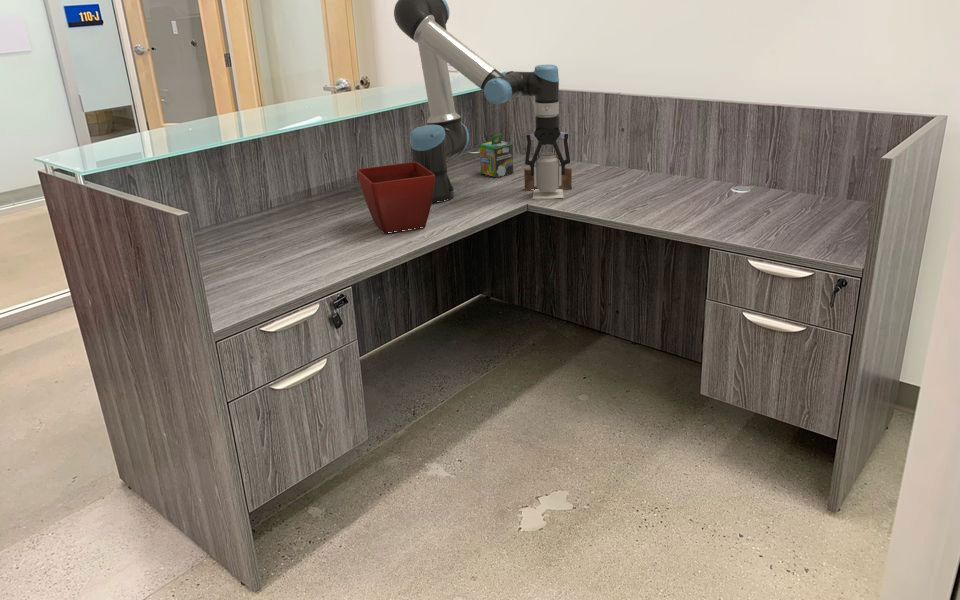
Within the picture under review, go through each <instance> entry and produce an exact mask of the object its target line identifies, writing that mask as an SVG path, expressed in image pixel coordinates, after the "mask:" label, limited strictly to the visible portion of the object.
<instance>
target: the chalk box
mask: <svg viewBox="0 0 960 600" xmlns="http://www.w3.org/2000/svg"><path fill="white" fill-rule="evenodd" d="M497 138H498V139H497ZM502 138H503V134H502V133H500V134H496V135H493V136H492V139H491V141H488V142H485V143H481V144H479V159H480V175H483V174H485V175H484V176H487V175H489V176H488V177H490V176H493V177H492V178H494V177H498V178H500V176H501V177H505V176H504V175H506V176H508V175H507V174H510V175H513V174H514V143H512V142H509V141H502ZM512 173H513V174H512Z"/></svg>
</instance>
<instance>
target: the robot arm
mask: <svg viewBox="0 0 960 600" xmlns="http://www.w3.org/2000/svg"><path fill="white" fill-rule="evenodd" d="M393 17H394V21H395V24H396V25H397V27H398V28H399V30H401V32H403V33H404V34H405V35H406V36H407V37H408V38H410V39H411V40H412V41H413V42H415V43H417V45H418V50H419V51H418V52H419V57H420V63H421V69H422V75H423V81H424V86H425V91H426V98H427V104H428V110H429V114H430V115H429V118H428V119H427V121H426V124H425V125H423V126H418V127H415V128H414V129H412V131H411V132H410V134H409V148H410V158H411V159H410V160H411V162H417V163H419V164H420V165H422V166H423V167H425V168H426V169H428V170H429V171H431V172H432V173H433V174H435V182H434V190H433V197H432V202H437V201H444V200H447V199H450V198H452V197H453V196H455V191H454V188H453V185H452V183H451V179H450V177H449V175H448V164H447V163H448V162H447V161H448V160H450V159H453V158H456V157H457V156H459V155H460V154H462V153H463V152H464V151H466V149H467V148H468V145H469V143H470V133H469V130H468V128H467V126H466V125H465V124H464V123H462V118H461V115H460V114H459V113H457V112H456V109H455V103H454V96H453V91H452V85H451V78H450V71H449V66H448V64H449V65H450V66H451V67H453V68H454V70H456V71H458V72H459V73H460V74H461V75H463V76H464V77H465V78H467V79H468V80H469V81H470V82H471V83H472V84H474V85H475V86H476V87H478V88H479V89H480V90H481V91H482V92H483V94H484V97H485V99H486V100H487V101H488V102H489V103H491V104H493V105H499V104H504V103H507V102H508V101H510V100H513V99H515V98H518V97H534V109H535V110H534V113H535V120H534V121H535V130H534V132H532V133H529V132H528V133H527V134H526V142H527V143H526V152H525V160H524V164H525V165H526V166H527V165H528V166H529V167H530V169H531V176H534V186H537V176H536V159H537V158H538V154H540V151H541V148H542V146H546V145H549V146H552V147H553V148H554V151H555V153H556V154H557V157H558V158H559V186H561V175H564V174H565V168H566V165H569V164H570V163H571V155H570V152H569V149H570V148H569V143H568V139H569V133H568V132H567V131H566V132H561V130H560V117H559V115H558V114H560V101H559V99H560V98H559V97H560V96H559V95H560V94H559V93H560V91H559V90H560V87H559V86H560V77H559V67H558V66H557V65H555V64H538V65H535V66H534V70H533V71H513V70H510V71H502V72H500V71H499V70H497V69H496V67H494V66H493V65H491V64H490V63H489V62H487V60H485V59H484V58H482V57H481V56H480V55H478V54H477V53H476V52H475V51H473V50H472V49H470V48H469V47H468V46H467V45H466V44H464V43H463V42H462V41H460V40H459V39H458V38H457V37H455V35H453V34H452V33H451V32H449V31H448V30H447V25H446V24H447V23H448V21H449V18H450V7H449V5H448V3H447V1H446V0H397V1H396V3H395V5H394V9H393ZM560 137H561V140H563V145H564V152H565V153H564V154H565V159H564V157H563V154H562V152H561V150H560V148H559V144H558V143H557V140H558V139H559V138H560ZM534 138H535V139H536V140H537V141H538V142H537V146H536V147H535V150H534V153H533V156H532V158H531V160H530V154H531V148H532V147H531V146H532V141H533V140H534ZM453 198H454V197H453ZM453 198H452V199H453ZM450 200H451V199H450ZM447 201H448V200H447ZM444 202H445V201H444Z"/></svg>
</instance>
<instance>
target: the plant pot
mask: <svg viewBox="0 0 960 600" xmlns="http://www.w3.org/2000/svg"><path fill="white" fill-rule="evenodd" d="M356 173H357V177H358V181H359V184H360V187H361V192H362V194H363V197H364V201H365V203H366V206H367V208H368V211H369V213H370V216H371V218H372V220H373V222H375V223H374V224H375V225H376V226H377V227H378V228H379V230H380V231H381V230H382V231H383V232H384V233H388V232H394V231H402V230H408V229H414V228H420V227H425V228H426V226H427V222H428V219H429V216H430V212H431V207H432V204H433V203H432V197H433V190H434V182H435V174H433V173H432V172H431V171H429V170H428V169H426V168H425V167H423V166H422V165H420V164H419V163H417V162H412V161H409V162H405V163H396V164H395V163H394V164H387V165H380V166H372V167H370V166H369V167H365V168H363V167H362V168H357V169H356ZM383 232H382V233H383ZM384 233H383V234H384Z"/></svg>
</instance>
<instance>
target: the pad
mask: <svg viewBox="0 0 960 600" xmlns="http://www.w3.org/2000/svg"><path fill="white" fill-rule="evenodd" d="M532 191H533V193H532V200H533V199H548V200H554V199H553V198H563V199H564V189H557V190H556V191H553V192H542V191H539V190H532Z"/></svg>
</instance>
